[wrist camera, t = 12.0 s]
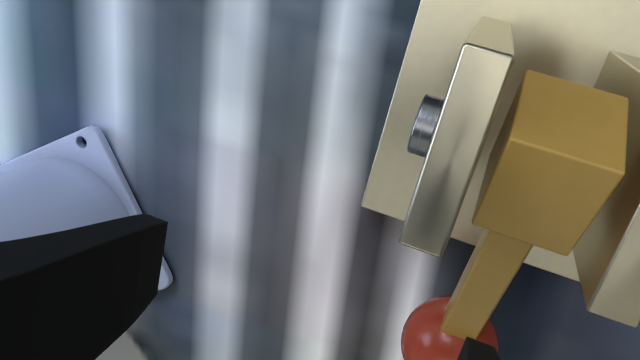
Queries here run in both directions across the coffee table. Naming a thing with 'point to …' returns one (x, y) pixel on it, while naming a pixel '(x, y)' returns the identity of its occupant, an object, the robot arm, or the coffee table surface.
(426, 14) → the tap bracket
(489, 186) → the lever
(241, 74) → the coffee table surface
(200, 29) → the coffee table surface
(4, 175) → the robot arm
